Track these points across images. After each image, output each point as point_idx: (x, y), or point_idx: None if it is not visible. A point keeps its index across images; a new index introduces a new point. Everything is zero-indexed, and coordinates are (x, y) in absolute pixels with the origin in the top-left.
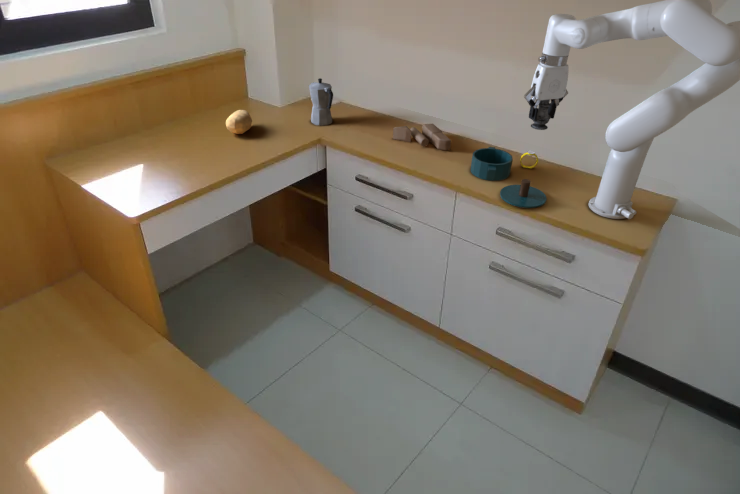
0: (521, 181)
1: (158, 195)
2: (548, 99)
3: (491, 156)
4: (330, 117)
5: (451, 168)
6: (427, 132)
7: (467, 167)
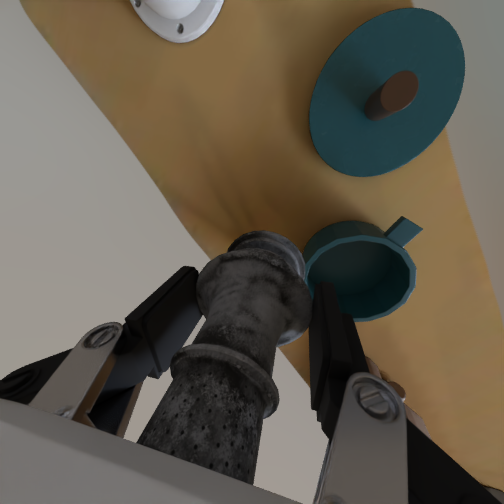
0: (412, 100)
1: None
2: (195, 476)
3: None
4: None
5: (415, 303)
6: None
7: None
